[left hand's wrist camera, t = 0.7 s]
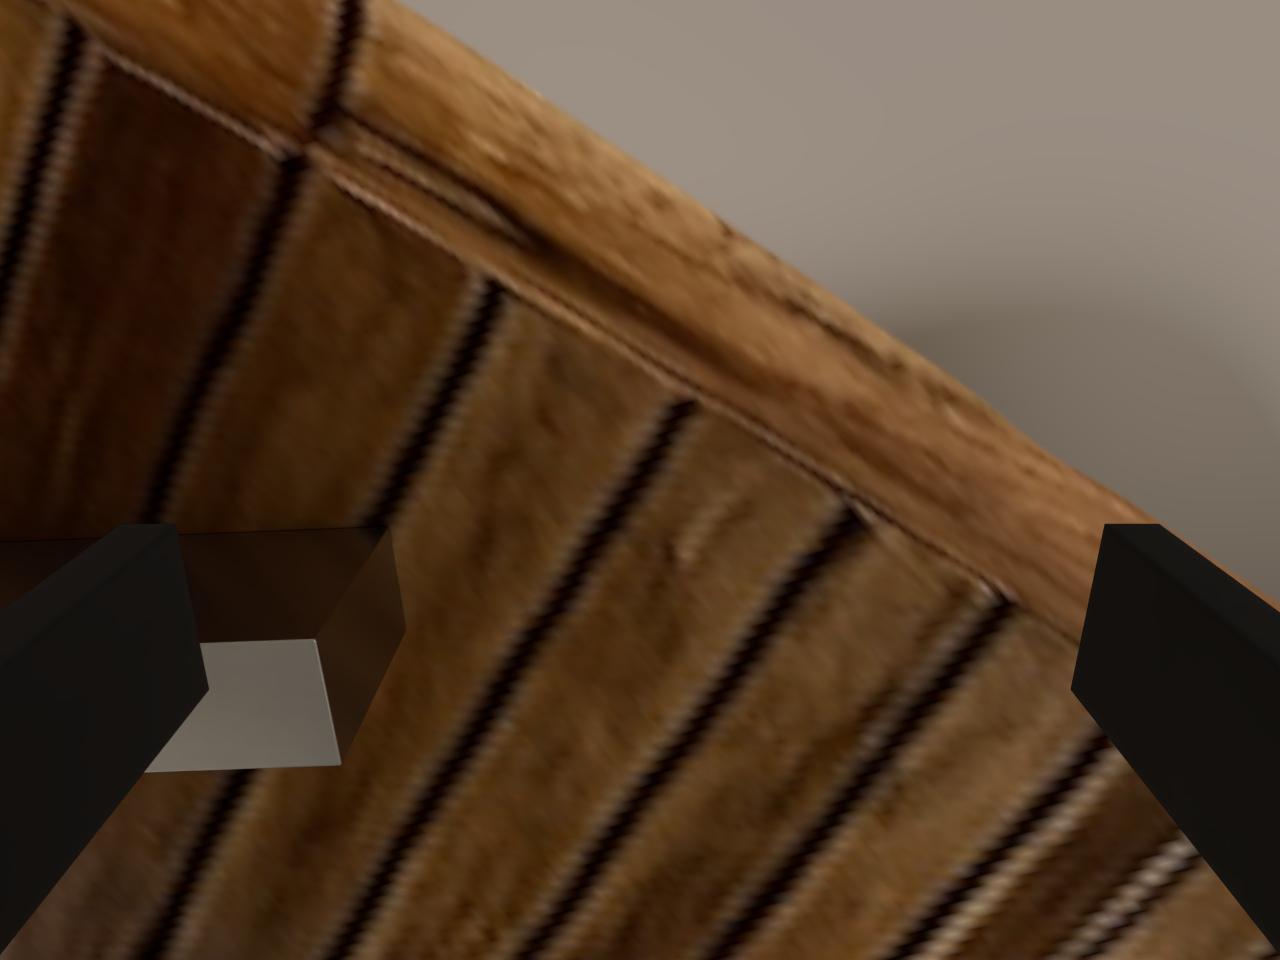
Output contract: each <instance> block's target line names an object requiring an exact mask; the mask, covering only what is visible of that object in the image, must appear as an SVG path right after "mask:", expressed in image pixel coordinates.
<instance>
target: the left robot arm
mask: <svg viewBox="0 0 1280 960" xmlns="http://www.w3.org/2000/svg"><path fill="white" fill-rule="evenodd" d="M208 691H209V685H208V680H207V676H206V671H205V666H204V661H203V656H202V651H201V646H200V642H199V637H198V632H197V627H196V622H195V617H194V612H193V607H192V603H191V598H190V593H189V588H188V583H187V578H186V573H185V569H184V564H183V559H182V554H181V549H180V544H179V539H178V535H177V530H176V525H175V524H120V525H119V526H117V527H116V528H115V529H113V530H112V531H111V532H109V533H108V534H107V535H105V536H104V537H102V538H101V539H100V540H98V541H97V542H96V543H94V544H93V545H91V546H90V547H89V548H87V549H86V550H85V551H83V552H82V553H81V554H79V555H78V556H76V557H75V558H74V559H72V560H71V561H70V562H68V563H67V564H66V565H64V566H63V567H61V568H60V569H59V570H57V571H56V572H55V573H53V574H52V575H51V576H49V577H48V578H46V579H45V580H44V581H42V582H41V583H40V584H38V585H37V586H36V587H34V588H33V589H31V590H30V591H29V592H27V593H26V594H25V595H23V596H22V597H20V598H19V599H18V600H16V601H15V602H14V603H12V604H11V605H10V606H8V607H7V608H5V609H4V610H3V611H1V612H0V954H1V953H2V952H3V951H4V949H5V948H6V947H7V946H8V944H9V943H10V942H11V940H12V939H13V938H14V937H15V935H16V934H17V933H18V932H19V930H20V929H21V928H22V927H23V925H24V924H25V923H26V921H27V920H28V919H29V918H30V916H31V915H32V914H33V913H34V911H35V910H36V909H37V907H38V906H39V905H40V904H41V902H42V901H43V900H44V899H45V897H46V896H47V895H48V894H49V892H50V891H51V890H52V888H53V887H54V886H55V885H56V883H57V882H58V881H59V880H60V878H61V877H62V876H63V875H64V873H65V872H66V871H67V869H68V868H69V867H70V866H71V864H72V863H73V862H74V861H75V859H76V858H77V857H78V856H79V854H80V853H81V852H82V850H83V849H84V848H85V847H86V845H87V844H88V843H89V842H90V840H91V839H92V838H93V837H94V835H95V834H96V833H97V831H98V830H99V829H100V828H101V826H102V825H103V824H104V823H105V821H106V820H107V819H108V817H109V816H110V815H111V814H112V812H113V811H114V810H115V809H116V807H117V806H118V805H119V804H120V802H121V801H122V800H123V798H124V797H125V796H126V795H127V793H128V792H129V791H130V790H131V788H132V787H133V786H134V785H135V783H136V782H137V781H138V779H139V778H140V777H141V776H142V774H143V773H144V772H145V771H146V769H147V768H148V767H149V766H150V764H151V763H152V762H153V760H154V759H155V758H156V757H157V755H158V754H159V753H160V752H161V750H162V749H163V748H164V747H165V745H166V744H167V743H168V741H169V740H170V739H171V738H172V736H173V735H174V734H175V733H176V731H177V730H178V729H179V728H180V726H181V725H182V724H183V722H184V721H185V720H186V719H187V717H188V716H189V715H190V714H191V712H192V711H193V710H194V708H195V707H196V706H197V705H198V703H199V702H200V701H201V700H202V698H203V697H204V696H205V695H206V693H207V692H208ZM1071 691H1072V692H1073V693H1074V695H1075V696H1076V697H1077V698H1078V700H1079V701H1080V702H1081V703H1082V705H1083V706H1084V707H1085V708H1086V710H1087V711H1088V712H1089V714H1090V715H1091V716H1092V717H1093V719H1094V720H1095V721H1096V722H1097V724H1098V725H1099V726H1100V728H1101V729H1102V730H1103V731H1104V733H1105V734H1106V735H1107V736H1108V738H1109V739H1110V740H1111V741H1112V743H1113V744H1114V745H1115V747H1116V748H1117V749H1118V750H1119V752H1120V753H1121V754H1122V755H1123V757H1124V758H1125V759H1126V760H1127V762H1128V763H1129V764H1130V766H1131V767H1132V768H1133V769H1134V771H1135V772H1136V773H1137V774H1138V776H1139V777H1140V778H1141V779H1142V781H1143V782H1144V783H1145V785H1146V786H1147V787H1148V788H1149V790H1150V791H1151V792H1152V793H1153V795H1154V796H1155V797H1156V798H1157V800H1158V801H1159V802H1160V804H1161V805H1162V806H1163V807H1164V809H1165V810H1166V811H1167V812H1168V814H1169V815H1170V816H1171V817H1172V819H1173V820H1174V821H1175V823H1176V824H1177V825H1178V826H1179V828H1180V829H1181V830H1182V831H1183V833H1184V834H1185V835H1186V837H1187V838H1188V839H1189V840H1190V842H1191V843H1192V844H1193V845H1194V847H1195V848H1196V849H1197V850H1198V852H1199V853H1200V854H1201V856H1202V857H1203V858H1204V859H1205V861H1206V862H1207V863H1208V864H1209V866H1210V867H1211V868H1212V869H1213V871H1214V872H1215V873H1216V875H1217V876H1218V877H1219V878H1220V880H1221V881H1222V882H1223V883H1224V885H1225V886H1226V887H1227V888H1228V890H1229V891H1230V892H1231V894H1232V895H1233V896H1234V897H1235V899H1236V900H1237V901H1238V902H1239V904H1240V905H1241V906H1242V907H1243V909H1244V910H1245V911H1246V913H1247V914H1248V915H1249V916H1250V918H1251V919H1252V920H1253V921H1254V923H1255V924H1256V925H1257V927H1258V928H1259V929H1260V930H1261V932H1262V933H1263V934H1264V935H1265V937H1266V938H1267V939H1268V940H1269V942H1270V943H1271V944H1272V946H1273V947H1274V948H1275V949H1276V951H1277V952H1278V953H1279V954H1280V612H1279V611H1277V610H1276V609H1275V608H1273V607H1272V606H1270V605H1269V604H1268V603H1266V602H1265V601H1264V600H1262V599H1261V598H1260V597H1258V596H1257V595H1255V594H1254V593H1253V592H1251V591H1250V590H1249V589H1247V588H1246V587H1244V586H1243V585H1242V584H1240V583H1239V582H1238V581H1236V580H1235V579H1234V578H1232V577H1231V576H1229V575H1228V574H1227V573H1225V572H1224V571H1223V570H1221V569H1220V568H1219V567H1217V566H1216V565H1214V564H1213V563H1212V562H1210V561H1209V560H1208V559H1206V558H1205V557H1204V556H1202V555H1201V554H1199V553H1198V552H1197V551H1195V550H1194V549H1193V548H1191V547H1190V546H1189V545H1187V544H1186V543H1184V542H1183V541H1182V540H1180V539H1179V538H1178V537H1176V536H1175V535H1173V534H1172V533H1171V532H1169V531H1168V530H1167V529H1165V528H1164V527H1163V526H1161V525H1160V524H1105V525H1104V530H1103V534H1102V539H1101V544H1100V549H1099V554H1098V559H1097V564H1096V569H1095V573H1094V578H1093V583H1092V588H1091V593H1090V598H1089V603H1088V607H1087V612H1086V617H1085V622H1084V627H1083V632H1082V637H1081V642H1080V646H1079V651H1078V656H1077V661H1076V666H1075V671H1074V676H1073V680H1072V685H1071Z"/></svg>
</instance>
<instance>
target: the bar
mask: <svg viewBox="0 0 1280 960" xmlns="http://www.w3.org/2000/svg"><path fill="white" fill-rule="evenodd" d="M178 539H179V544H180V549H181V554H182V559H183V564H184V569H185V573H186V578H187V583H188V588H189V593H190V598H191V603H192V607H193V612H194V617H195V622H196V627H197V632H198V637H199V642H200V646H201V651H202V656H203V661H204V666H205V671H206V676H207V680H208V685H209V691H208V692H207V693H206V695H205V696H204V697H203V698H202V700H201V701H200V702H199V703H198V705H197V706H196V707H195V708H194V710H193V711H192V712H191V714H190V715H189V716H188V717H187V719H186V720H185V721H184V722H183V724H182V725H181V726H180V728H179V729H178V730H177V731H176V733H175V734H174V735H173V736H172V738H171V739H170V740H169V741H168V743H167V744H166V745H165V747H164V748H163V749H162V750H161V752H160V753H159V754H158V755H157V757H156V758H155V759H154V760H153V762H152V763H151V764H150V766H149V767H148V768H147V769H146V771H145V772H171V771H199V770H227V769H255V768H283V767H311V766H339V765H341V764H342V763H343V761H344V759H345V757H346V755H347V752H348V750H349V748H350V746H351V744H352V742H353V740H354V738H355V736H356V734H357V732H358V730H359V727H360V725H361V723H362V721H363V719H364V717H365V715H366V713H367V711H368V709H369V707H370V704H371V702H372V700H373V698H374V696H375V694H376V692H377V690H378V688H379V686H380V684H381V682H382V679H383V677H384V675H385V673H386V671H387V669H388V667H389V665H390V663H391V661H392V659H393V657H394V654H395V652H396V650H397V648H398V646H399V644H400V642H401V640H402V638H403V636H404V634H405V632H406V627H405V621H404V615H403V609H402V603H401V597H400V591H399V585H398V578H397V572H396V566H395V560H394V554H393V548H392V542H391V536H390V530H389V527H370V528H346V529H321V530H297V531H272V532H248V533H223V534H199V535H178ZM98 540H100V539H76V540H52V541H28V542H3V543H0V612H1V611H3V610H4V609H5V608H7V607H8V606H10V605H11V604H12V603H14V602H15V601H16V600H18V599H19V598H20V597H22V596H23V595H25V594H26V593H27V592H29V591H30V590H31V589H33V588H34V587H36V586H37V585H38V584H40V583H41V582H42V581H44V580H45V579H46V578H48V577H49V576H51V575H52V574H53V573H55V572H56V571H57V570H59V569H60V568H61V567H63V566H64V565H66V564H67V563H68V562H70V561H71V560H72V559H74V558H75V557H76V556H78V555H79V554H81V553H82V552H83V551H85V550H86V549H87V548H89V547H90V546H91V545H93V544H94V543H96V542H97V541H98Z"/></svg>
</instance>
